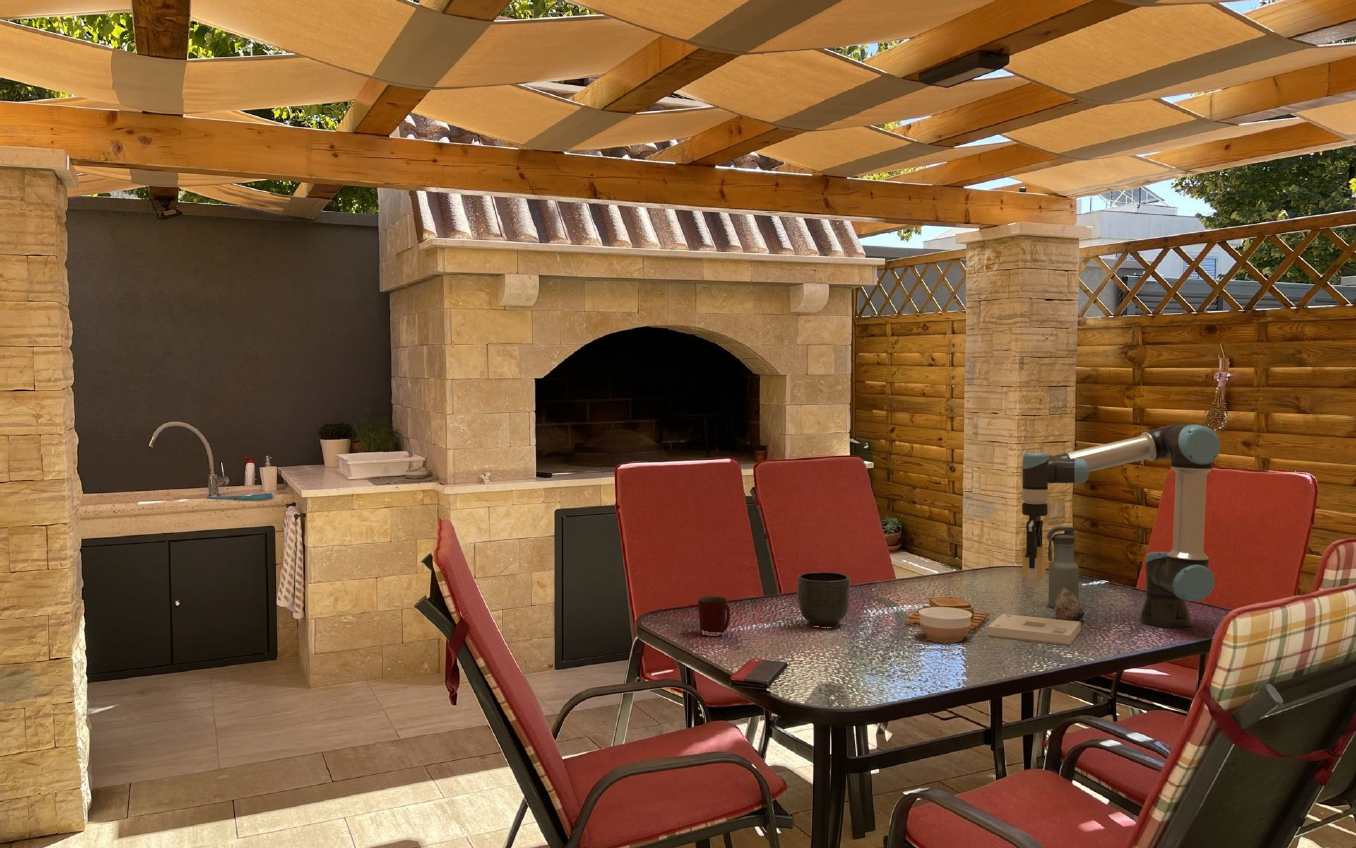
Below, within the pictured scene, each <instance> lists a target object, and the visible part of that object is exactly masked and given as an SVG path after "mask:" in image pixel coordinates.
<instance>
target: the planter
mask: <svg viewBox="0 0 1356 848" xmlns="http://www.w3.org/2000/svg"><path fill="white" fill-rule="evenodd" d="M796 595H797V602H798V603H797V604H798V608H799V611H800V614H801V615H802V617H803V618H804V619H805V621H807V622H808V624H809V625H810V624H811V625H812V626H819V627H826V628H825V629H828V628H827V627H834V628H836V627H835V626H837V627H838V626H839V624H840V623H841V621H842V620H844V618H845V617H846V616H847V614H848V611H849V607H850V601H851V600H850V598H851V577H850V575H848V574H845V573H840V572H831V571H813V572H812V571H811V572H810V571H809V572H805V573H804V572H803V573H800V574H797V577H796ZM812 626H811V627H812Z"/></svg>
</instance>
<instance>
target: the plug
mask: <svg viewBox="0 0 1356 848" xmlns="http://www.w3.org/2000/svg"><path fill="white" fill-rule="evenodd" d="M1021 553H1022V561H1021V563H1022V564H1021V565H1022V566H1021V567H1022V570H1021V572H1022V573H1021V574H1022V575H1021V576H1022V578H1024V577H1025V579H1026V580H1025V585H1026V587H1034V588H1035V587H1036V588H1041V587H1042V579H1043V578H1044V577H1046V575H1047V574H1046V573H1047V572H1046V571H1047V569H1046V565H1047V562H1046V561H1047V557H1046V556H1047V547H1046V546H1042V547H1039V546H1037V554H1036V555H1037V557H1036V558H1037V579H1028V558H1027V557H1025V555H1026V545H1024V546H1022V552H1021Z"/></svg>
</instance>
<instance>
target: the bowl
mask: <svg viewBox="0 0 1356 848" xmlns="http://www.w3.org/2000/svg"><path fill="white" fill-rule="evenodd" d="M918 614H919V627H920V629H921V630H922V632H923V633H924V634H925V635H926V638H927V639H928V640H931V641H933V642H938V643H959V642H961V641H963V640H964V638H965V637H966V636H967V635H968V633H969V631H970V630H971V625H972V623H971V622H972V621H971V620H972V619H971V618H972V616H973V613H972V612H970V611H969V610H965V609H963V608H958V607H956V608H955V607H949V606H948V607H947V606H934V607H933V606H932V607H925V608H924V607H923V608H921V609H919V610H918Z"/></svg>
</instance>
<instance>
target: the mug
mask: <svg viewBox="0 0 1356 848" xmlns="http://www.w3.org/2000/svg"><path fill="white" fill-rule="evenodd" d="M697 601H698V602H697V604H698V617H699V618H698V619H699V628H700V629H701V630H704V631H708V632H721V633H722V632H724V633H725V632H726V630H727V629H728V627H729V624H730V620H731V619H730V617H731V611H730V606H729V605H728V604H727V598H726V597H723V596H712V595H711V596H709V595H708V596H702V597H699V598H698V599H697ZM700 629H699V630H700ZM701 630H700V631H701Z"/></svg>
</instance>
